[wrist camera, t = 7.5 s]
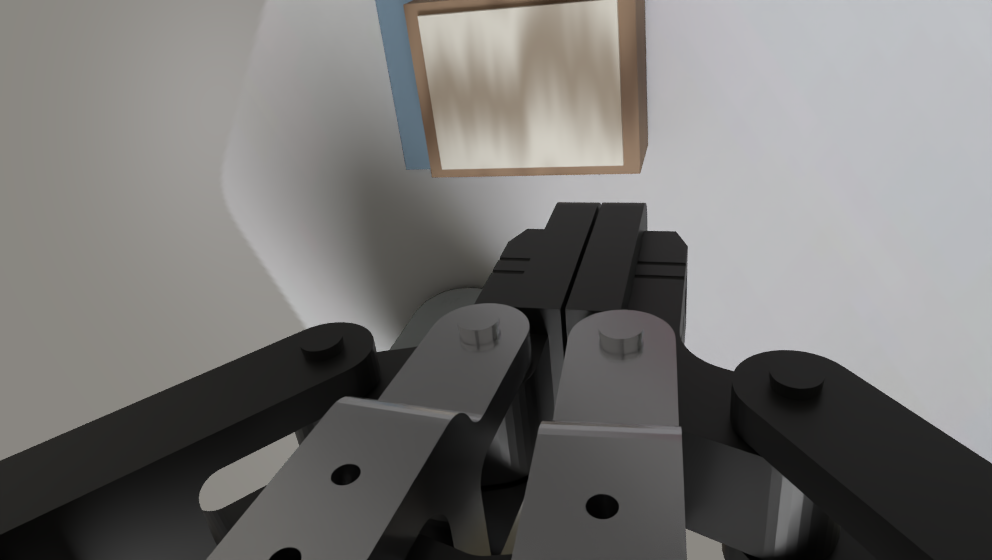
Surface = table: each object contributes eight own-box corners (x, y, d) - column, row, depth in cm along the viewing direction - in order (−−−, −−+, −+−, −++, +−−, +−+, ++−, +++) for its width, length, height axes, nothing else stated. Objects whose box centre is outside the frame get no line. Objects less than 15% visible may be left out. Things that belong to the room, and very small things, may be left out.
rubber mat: (374, -26, 36) (370, -25, 36) (618, -52, 32) (617, -52, 32) (409, 167, 41) (406, 169, 40) (626, 161, 37) (625, 164, 37)
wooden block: (644, -30, 32) (433, -9, 35) (634, -16, 29) (400, 5, 32) (647, 144, 36) (457, 150, 39) (639, 175, 32) (429, 179, 35)
